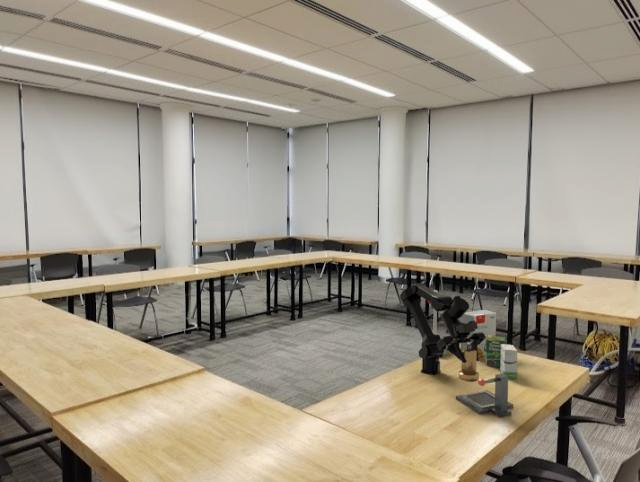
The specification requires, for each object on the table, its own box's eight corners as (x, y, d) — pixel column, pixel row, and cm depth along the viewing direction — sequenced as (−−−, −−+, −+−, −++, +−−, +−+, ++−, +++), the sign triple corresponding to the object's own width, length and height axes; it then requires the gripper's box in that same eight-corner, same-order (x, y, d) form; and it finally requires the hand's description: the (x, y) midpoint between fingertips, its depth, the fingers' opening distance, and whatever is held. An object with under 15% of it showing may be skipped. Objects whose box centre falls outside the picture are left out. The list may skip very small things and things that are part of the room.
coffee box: (485, 365, 195) (485, 336, 194) (486, 363, 197) (487, 334, 196) (504, 368, 191) (505, 338, 190) (505, 366, 193) (506, 337, 192)
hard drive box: (471, 359, 203) (472, 316, 202) (459, 354, 210) (460, 312, 209) (495, 353, 210) (496, 312, 209) (483, 349, 217) (483, 309, 216)
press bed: (450, 400, 160) (450, 364, 159) (487, 393, 166) (487, 358, 165) (482, 421, 144) (483, 381, 143) (521, 412, 150) (522, 374, 149)
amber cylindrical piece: (460, 381, 162) (461, 347, 161) (457, 374, 169) (457, 341, 168) (480, 382, 161) (481, 348, 160) (476, 375, 168) (477, 342, 167)
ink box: (517, 379, 179) (517, 350, 178) (504, 378, 180) (504, 349, 179) (512, 371, 187) (513, 344, 186) (499, 371, 188) (500, 343, 187)
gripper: (441, 315, 163) (460, 354, 154) (483, 311, 170) (503, 348, 160) (429, 331, 171) (446, 368, 162) (469, 326, 178) (487, 362, 168)
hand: (471, 361), depth 163 cm, fingers closed on amber cylindrical piece, 5 cm apart
